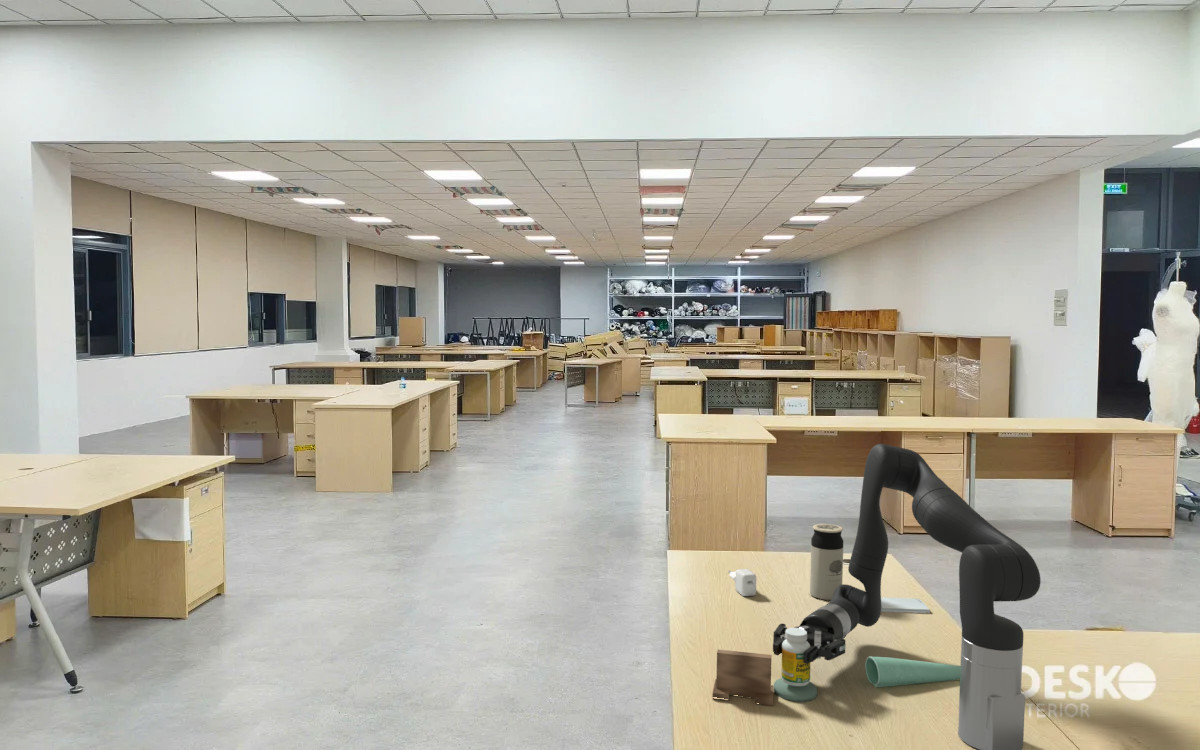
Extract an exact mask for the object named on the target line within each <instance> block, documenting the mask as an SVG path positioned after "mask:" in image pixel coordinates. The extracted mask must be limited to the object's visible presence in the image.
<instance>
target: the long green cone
mask: <svg viewBox="0 0 1200 750" xmlns="http://www.w3.org/2000/svg"><path fill="white" fill-rule="evenodd" d="M960 666H961V665H956V664H948V663H939V662H933V661H932V662H930V661H921V660H913V659H906V658H896V657H883V656H871V655H870V656H868V657H867V658H866V659H865V664H864V669H865V673H866V678H867V681H868V682H869V683H870V684H872V685H873V686H874V687H875V688H883V687H895V686H904V685H915V684H916V685H917V684H927V683H928V684H929V683H938V682H939V683H940V682H947V681H949V682H950V681H957V679H960Z"/></svg>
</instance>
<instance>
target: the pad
mask: <svg viewBox="0 0 1200 750" xmlns="http://www.w3.org/2000/svg"><path fill="white" fill-rule="evenodd" d="M773 685H774V692H773V693H775V695H776V696H778V698H779V697H780V698H781V699H784V700H787V701H792V702H797V703H799V702H802V703H803V702H810V701H813V700H814V699H815V698H817V696H818V688H817V686H816V685H815V684H814V683H813V682H811V681H810V682H809V683H808V684H807V685H805V686H792V685H789V684H787V683H785V682H784V681H783V680H782V677H781V678H778V679H776V680H775V681H774V682H773Z"/></svg>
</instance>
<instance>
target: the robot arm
mask: <svg viewBox="0 0 1200 750" xmlns="http://www.w3.org/2000/svg"><path fill="white" fill-rule="evenodd" d="M883 489H888V490H893V491H899V492H904V493H907V494H908V495H910V496H911V497H912V498H913V499H912V502H911V511H912V515H913V518H914V519H915V520H916V522H917V524H919V526H920V527H921V528H922V529H923V530H924V531H925V532H926V533H927V534H928V535H929V536H930V537H931V538H932V539H933V540H935V541H936V542H938V543H939V544H941V545H944V546H946V547H948V548H951V549H952V550H954V551H957V552H960V553H961V555H960V558H959V566H958V578H959V579H958V582H959V583H958V584H959V616H960V623H961V641H960V643H961V645H960V646H961V647H960V665H959V666H960V680H959V696H958V697H959V698H958V699H959V700H958V723H957V724H958V726H957V729H958V731H957V732H958V736H959V738H960V740H961V741H963V742H964V743H966V744H967V745H969V746H970V747H973V748H974V749H978V750H1022V749H1023V750H1024V732H1025V712H1026V711H1025V710H1026V709H1025V708H1026V707H1025V706H1026V696H1025V694H1024V693H1022V677H1023V676H1022V675H1023V655H1024V654H1023V653H1024V652H1023V651H1024V630H1023V627H1022V626H1021V625H1019V624H1018V623H1017V622H1016V621H1014V620H1011V619H1009V618H1007V617H1005V616H1002V615H999V614H996V613H995V607H994V605H995V604H994V602H1018V601H1019V602H1021V601H1026V600H1029V599H1031V598H1033V597H1034V596H1035V595H1036V594H1037V593H1038V592H1039V589H1040V588H1041V573H1040V569H1039V567H1038V565H1037V563H1036V561H1035V559H1034V558H1033V556H1032V555H1031V553H1029V552H1028V550H1026V549H1025V548H1024V547H1023V546H1022V545H1021V544H1019V543H1018V542H1017V541H1015V540H1013V539H1012V538H1010V537H1009V536H1007V534H1004V533H1003V532H1002V531H1000V530H999V529H997V528H996V527H995V526H994V525H992V524H991V523H990V522H989V521H987V520H986V519H985V518H984V517H983V516H982V515H980V514H979V513H978V512H977V511H976V510H975V509H974V508H973V507H971V506H970V504H968V503H967V502H966V501H965V500H964V499H963V498H962V497H961V496H960V495H959V494H958V493H957V492H956V491H954V490H953V489H952V488H950V486H948V485H947V484H946V482H945V481H943V480H942V479H941V478H940V477H938V476H937V474H936V473H935V472H934V471H933V469H932V468H931V467H930V466H929V464H928V462H926V460H925V458H923V457H922V455H920V453H918V452H916V451H914V450H912V449H908V448H904V447H900V446H895V445H891V444H884V443H877V444H876V445H874V446H873V447H871V449H870V451H869V453H868V456H867V457H866V461H865V466H864V473H863V479H862V487H861V496H860V506H859V517H858V518H859V519H858V524H857V531H856V536H855V540H854V545H853V548H852V551H851V556H850V559H849V563H848V568H847V569H848V573H849V574H850V575H851V576H852V577H853V578H855V579H856V580H857V581H859V582H860V583H861V584H862V586H863V587H864V590H863V589H860V588H857V587H855V586H853V585H850V584H847V583H845V584H843V583H842V585H839V586H838V587H837V588H836V589H835V591H834V593H833V595H832V599H831V600H829V602H827V604H825V605H823V606H820V607H818V608H817V609H816V610H814V611H813V612H811V613H810V614H808V615H806V616H805V617H804V618H803V619H802V620H801V622H800V624H799V626H794V627H793V628H800V629H804V630H805V631H806V632H807V640H806V641H807V642H808V643H809V644H810V648H808V649H807V650H806V651H805V652H804V658H803V662H804V663H806V664H808V663H810V664H811V663H812V662H814V661H815V660H817V659H818V660H821V658H824V660H826V661H832V660H833V659H836V658H837V657H840V656H842V655H844V654H846V645H847V644H846V639H845V638H846V637H847V635H849V633H850V632H852V631H853V630H854V629H855V628H856V627H857V626H858V625H861V626H864V627H872V626H874V625H875V624H876V623H878V621H879V619H880V617H881V615H882V612H881V597H882V593H881V592H882V588H881V586H882V576H883V572H884V567H885V563H886V560H887V556H888V550H889V537H888V534H887V533H888V532H887V530H886V526H885V523H884V520H883V516H882V513H881V512H882V511H881V495H882V492H883ZM786 629H788V627H787V625H786V624H785V623H779V624H778V626H777V627H776V628H775V630H774V631H773V633H772V634H773V640H772V641H773V643H772V652H773V654H774V655H775V656H779V655H782V643H783V641H784V640H786V637H785V631H786Z"/></svg>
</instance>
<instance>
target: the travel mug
mask: <svg viewBox="0 0 1200 750" xmlns="http://www.w3.org/2000/svg"><path fill="white" fill-rule="evenodd" d="M812 529H813V535H812V537H811V541H810V544H811V545H810V576H809V577H810V579H809V582H810V583H809V595H811V596H812V597H814V598H815V599H818V600H819V599H820V600H824V601H831V599H832V595H833V593H834V591H835V589H836V588H837V587H838V586H839V585H843V577H844V576H843V569H844V539H843V537H842V532H843V527H842V526H840V525H837V524H833V523H832V524H830V523H829V524H828V523H818V524H817V523H816V524H814V525H813V526H812Z"/></svg>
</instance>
